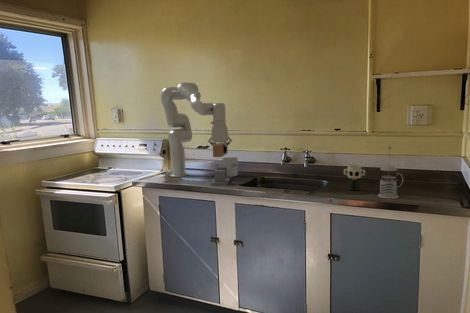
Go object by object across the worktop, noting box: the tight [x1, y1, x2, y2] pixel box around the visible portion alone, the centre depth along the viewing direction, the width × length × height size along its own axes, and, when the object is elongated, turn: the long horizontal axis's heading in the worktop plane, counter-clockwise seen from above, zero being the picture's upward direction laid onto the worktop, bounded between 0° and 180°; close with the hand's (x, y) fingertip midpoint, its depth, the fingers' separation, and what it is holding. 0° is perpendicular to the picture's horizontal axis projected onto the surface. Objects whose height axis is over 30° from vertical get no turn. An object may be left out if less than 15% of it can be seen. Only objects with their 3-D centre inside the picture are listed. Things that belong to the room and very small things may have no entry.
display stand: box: [210, 165, 232, 186], centre depth 235 cm, size 10×22×8 cm, turn 176°
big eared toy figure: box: [343, 164, 366, 191], centre depth 203 cm, size 11×7×13 cm, turn 69°
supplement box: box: [222, 156, 239, 178], centre depth 253 cm, size 7×7×13 cm
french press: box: [377, 145, 404, 199], centre depth 186 cm, size 10×12×25 cm
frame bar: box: [212, 142, 229, 158], centre depth 233 cm, size 5×18×7 cm, turn 169°
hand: (220, 152), depth 233 cm, fingers closed on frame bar, 5 cm apart
